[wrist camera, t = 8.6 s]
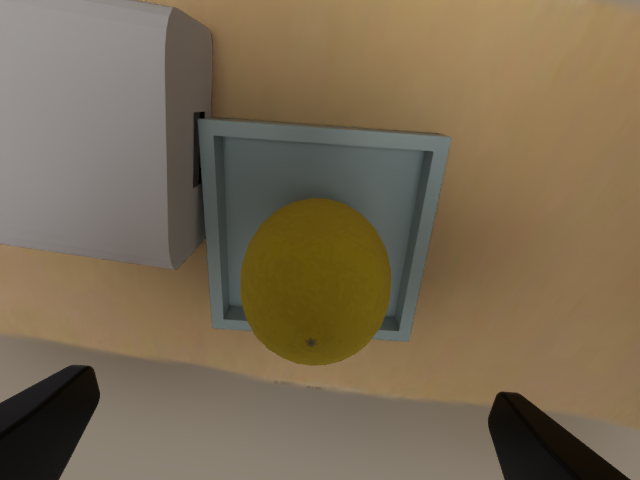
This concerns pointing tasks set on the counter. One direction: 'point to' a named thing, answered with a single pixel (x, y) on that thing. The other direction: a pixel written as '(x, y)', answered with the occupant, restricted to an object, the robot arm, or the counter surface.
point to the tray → (318, 182)
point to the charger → (102, 129)
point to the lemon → (315, 282)
